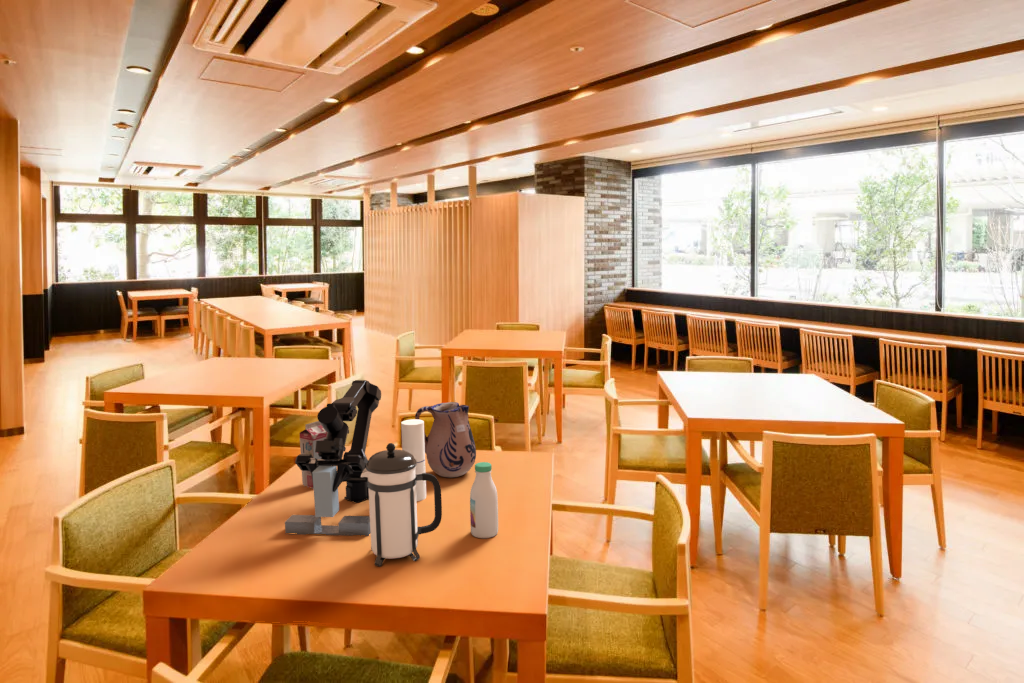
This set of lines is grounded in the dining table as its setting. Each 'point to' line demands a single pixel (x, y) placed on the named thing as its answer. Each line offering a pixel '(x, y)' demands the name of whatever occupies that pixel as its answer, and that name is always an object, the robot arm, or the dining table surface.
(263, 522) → the dining table surface
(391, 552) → the coffee press
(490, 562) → the dining table surface
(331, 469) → the peg
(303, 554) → the dining table surface
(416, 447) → the cylindrical container
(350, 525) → the rail
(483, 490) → the milk bottle
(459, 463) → the ceramic pitcher
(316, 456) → the juice carton
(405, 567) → the dining table surface
